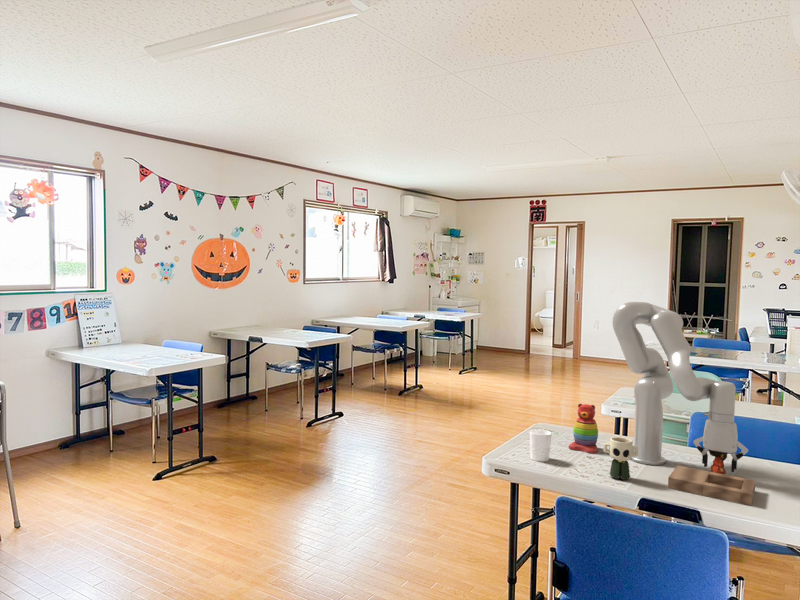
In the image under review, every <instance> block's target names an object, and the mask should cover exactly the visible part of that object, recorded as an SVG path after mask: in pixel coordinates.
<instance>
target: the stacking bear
mask: <svg viewBox="0 0 800 600" xmlns="http://www.w3.org/2000/svg"><path fill="white" fill-rule="evenodd" d="M577 415H578V417H577V418H576V419H575V422H574V426H573V433H572V434H573V439H574V441H573V442H571V443H569V445H568V449H569V450H572V451H578V452H583V453H584V452H585V453H587V454H590V455H591V454H593V455H595V454H597V453H598V451H599V449H598V448H599V447H598V446H597V442H598V439H599V438H598V437H599V429H598V424H597V421H596V420H595V416H596V406H595V405H594V404H585V403H584V404H583V403H578V405H577Z"/></svg>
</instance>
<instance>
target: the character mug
mask: <svg viewBox="0 0 800 600" xmlns="http://www.w3.org/2000/svg"><path fill="white" fill-rule="evenodd" d="M633 445H634V440H632V439H630V438H626V437H622V436H612V437H610V439H609V443H608V442H604V443H603V453H606V454H609V457H610V458H611V459H612V461H611V465H610V471H609V475H610V477H612V478H614V479H619V478H621V480H628V479H630V463H629V461H632V460H631V458H632V456H638V447H636V446H633ZM608 447H609V449H608ZM632 449H635V453H632Z"/></svg>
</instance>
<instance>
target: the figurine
mask: <svg viewBox="0 0 800 600" xmlns="http://www.w3.org/2000/svg"><path fill="white" fill-rule="evenodd" d="M708 453H709V455H710V456H711V457H714V459H713V461H712V464H711V466H710V470H711V472H714V473H719V474H724V475H727V474H726V473H727V471H726V469H725V463H724V461H725V460H726V459H727V458H728V454H729V453H724V452H718V451H712V450H708Z"/></svg>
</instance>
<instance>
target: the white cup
mask: <svg viewBox="0 0 800 600" xmlns="http://www.w3.org/2000/svg"><path fill="white" fill-rule="evenodd" d="M551 445H552V432H551V431H549V430H546V429H530V430H529V453H530V454H529V456H530V457H529V458H530V459H531V460H532V461H536V462H548V461H549V460H550V451H551Z"/></svg>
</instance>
